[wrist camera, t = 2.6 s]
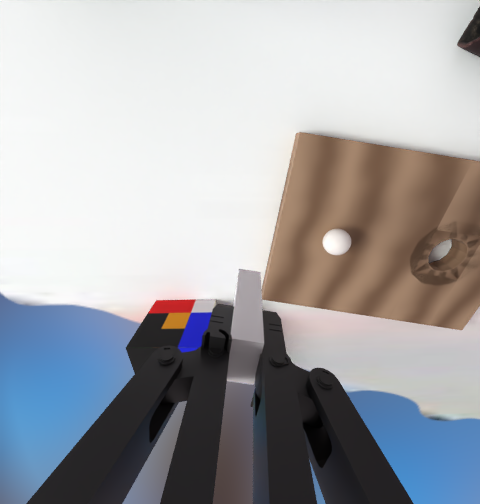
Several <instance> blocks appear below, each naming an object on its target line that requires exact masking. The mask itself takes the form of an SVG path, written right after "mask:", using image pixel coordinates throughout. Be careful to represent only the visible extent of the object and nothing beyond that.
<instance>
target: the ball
mask: <svg viewBox="0 0 480 504" xmlns="http://www.w3.org/2000/svg"><path fill="white" fill-rule="evenodd" d="M350 246H351V237H350V235H349V234H348V233H347V232H346V231H344V230H342V229H332V230H330V231H328V232H327V233H326V234H325V236H324V238H323V247H324V249H325V250H326V251H327V252H328V253H330V254H332V255H341V254H344V253H345V252H347V251H348V250H349V248H350Z"/></svg>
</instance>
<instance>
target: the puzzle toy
mask: <svg viewBox="0 0 480 504" xmlns="http://www.w3.org/2000/svg"><path fill="white" fill-rule="evenodd" d="M216 305H217V302H216V299H202V300H157V301H156V302H155V303H154V305H153V306H152V308H151V309H150V311H149V312H148V314H147V316H146V317H145V319H144V320H143V322H142V323H141V325H140V326H139V328H138V330H137V331H136V333H135V334H134V336H133V337H132V339H131V340H130V342H129V344H128V345H127V347H126V350H127V352H128V356H129V358H130V361H131V364H132V367H133V370H134V372H135V374H136V372H137V371H138V370H139V369H140V368H141V366H142V365H143V364H144V363H145V362H146V361H147V359H148V358H149V357H150V356H151V355H152V353H153V352H154V351H156V350H157V349H158V348H160V347H163V346H169V345H170V346H175V347H177V348H178V349H180V351H181V352H189V351H194V350H196V349H198V348H199V347H201V344H202V335H203V333H204V331H206V330H207V329H208V325H209V322H210V317H211V314H212V310H213V308H214V307H215V306H216Z"/></svg>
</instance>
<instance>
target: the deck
mask: <svg viewBox="0 0 480 504" xmlns="http://www.w3.org/2000/svg"><path fill="white" fill-rule="evenodd" d="M332 229H342V230H344V231H346V232H347V233H348V234H349V235H350V237H351V246H350V248H349V250H348V251H347V252H345V253H344V254H341V255H332V254H330V253H328V252H327V251H326V250H325V249H324V247H323V238H324V236H325V234H326V233H327V232H328V231H330V230H332ZM449 239H452V247H451V249H450V251H449V253H448V254H447V255H446V256H445V257H443V258H442V259H441V260H439V261H435V262H432V263H429V260H428V257H429V255H430V253H431V251H432V249H433V248H434V247H436V246H437V245H438V244H439V243H441V242H443V241H446V240H449ZM262 300H269V301H275V302H282V303H288V304H295V305H301V306H308V307H314V308H321V309H327V310H334V311H340V312H347V313H353V314H360V315H366V316H373V317H379V318H386V319H392V320H399V321H405V322H412V323H418V324H425V325H431V326H438V327H444V328H451V329H457V330H463V328H464V327H465V325H466V324H467V323H468V321H469V320H470V318H471V317H472V316H473V314H474V313H475V311H476V310H477V309H478V307H479V306H480V161H474V160H468V159H461V158H455V157H449V156H443V155H437V154H431V153H425V152H419V151H412V150H406V149H400V148H394V147H388V146H382V145H376V144H369V143H363V142H357V141H351V140H345V139H339V138H333V137H326V136H320V135H314V134H308V133H302V132H299V133H297V134H296V137H295V141H294V146H293V150H292V155H291V159H290V164H289V168H288V173H287V177H286V182H285V186H284V191H283V196H282V200H281V205H280V209H279V214H278V218H277V223H276V227H275V232H274V236H273V241H272V245H271V250H270V254H269V259H268V263H267V268H266V272H265V277H264V281H263V286H262Z"/></svg>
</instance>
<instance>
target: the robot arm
mask: <svg viewBox="0 0 480 504" xmlns="http://www.w3.org/2000/svg"><path fill="white" fill-rule="evenodd" d="M227 381H232V382H238V383H245V384H251V385H254V381H255V391H254V395H253V398H252V402H251V407H253V504H317V501H316V495H315V490H314V484H313V478H312V473H311V467H310V462H311V464H312V467H313V470H314V472H315V475H316V478H317V481H318V483H319V486H320V489H321V492H322V494H323V497H324V500H325V503H326V504H413V502H412V500H411V499H410V497H409V495H408V494H407V492H406V490H405V489H404V487H403V486H402V484H401V483H400V481H399V479H398V477H397V476H396V474H395V473H394V471H393V469H392V467H391V466H390V464H389V463H388V461H387V459H386V458H385V456H384V454H383V453H382V451H381V449H380V448H379V446H378V445H377V443H376V441H375V440H374V438H373V436H372V435H371V433H370V431H369V430H368V428H367V427H366V425H365V423H364V421H363V420H362V418H361V417H360V415H359V413H358V412H357V410H356V409H355V407H354V405H353V403H352V402H351V400H350V398H349V397H348V395H347V394H346V392H345V390H344V389H343V387H342V385H341V384H340V382H339V380H338V379H337V378H336V377H335V375H334V374H332V373H331V372H330V371H328V370H326V369H323V368H315V369H312V370H311V372H308V371H306V370H304V369H301V368H299V367H298V366H296V365H295V364H293V363H292V362H291V359H290V357H289V356H288V355H287V354H286V349H285V342H284V336H283V330H282V324H281V319H280V317H279V316H278V314H277V313H276V312H270V311H263V310H262V295H261V277H260V272H256V271H250V270H243V269H239V273H238V279H237V285H236V291H235V297H234V304H233V306H228V305H221V304H217V305H216V306H215V307H214V308H213V310H212V314H211V317H210V322H209V325H208V329H207V330H206V331H204V333H203V335H202V344H201V347H199V348H198V349H196V350H194V351H189V352H181V351H180V349H178V348H177V347H175V346H170V345H169V346H163V347H160V348H158V349H157V350H156V351H154V352H153V353H152V355H151V356H150V357H149V358H148V359H147V361H146V362H145V363H144V364H143V365H142V366H141V368H140V369H139V370H138V371H137V372H136V374H135V375H134V376H133V378H131V380H130V381H129V382H128V383H127V384H126V386H125V387H124V388H123V389H122V390H121V392H120V393H119V394H118V395H117V396H116V398H115V399H114V400H113V401H112V402H111V404H110V405H109V406H108V407H107V408H106V409H105V411H104V412H103V413H102V414H101V416H100V417H99V418H98V419H97V420H96V421H95V423H94V424H93V425H92V426H91V427H90V429H89V430H88V431H87V432H86V433H85V434H84V436H83V437H82V438H81V439H80V440H79V442H78V443H77V444H76V445H75V446H74V448H73V449H72V450H71V451H70V453H68V455H67V456H66V457H65V458H64V459H63V461H62V462H61V463H60V464H59V465H58V467H57V468H56V469H55V470H54V471H53V473H52V474H51V475H50V476H49V477H48V479H47V480H46V481H45V482H44V483H43V485H42V486H41V487H40V488H39V489H38V491H37V492H36V493H35V494H34V495H33V496H32V498H31V499H30V500H29V501H28V503H27V504H122V503H123V501H124V499H125V498H126V496H127V494H128V492H129V490H130V489H131V487H132V485H133V483H134V482H135V480H136V478H137V476H138V474H139V473H140V471H141V469H142V467H143V466H144V464H145V462H146V460H147V458H148V456H149V455H150V453H151V451H152V449H153V447H154V446H155V444H156V442H157V441H158V439H159V437H160V435H161V433H162V432H163V430H164V428H165V426H166V424H167V423H168V421H169V419H170V417H171V415H172V414H173V412H174V410H175V408H176V406H177V405H178V403H179V402H182V401H187V404H186V408H185V411H184V415H183V419H182V423H181V426H180V430H179V434H178V438H177V442H176V445H175V450H174V453H173V457H172V461H171V464H170V468H169V473H168V476H167V480H166V484H165V487H164V491H163V495H162V499H161V503H160V504H212V503H213V494H214V486H215V477H216V469H217V460H218V451H219V442H220V434H221V425H222V416H223V408H224V399H225V390H226V382H227ZM309 459H310V462H309Z"/></svg>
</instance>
